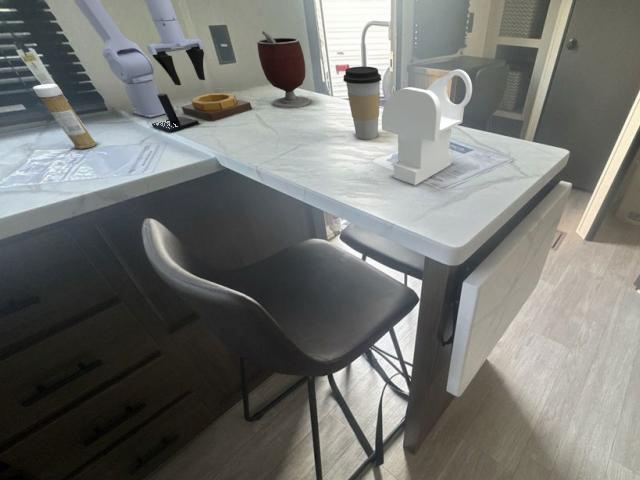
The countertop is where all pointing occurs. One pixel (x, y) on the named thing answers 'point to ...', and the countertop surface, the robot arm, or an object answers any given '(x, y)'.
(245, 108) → the coaster
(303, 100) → the mate gourd
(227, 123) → the countertop surface
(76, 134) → the sprinkles bottle
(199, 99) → the orange ring
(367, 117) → the coffee cup
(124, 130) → the countertop surface
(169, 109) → the peg stand
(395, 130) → the tape dispenser
